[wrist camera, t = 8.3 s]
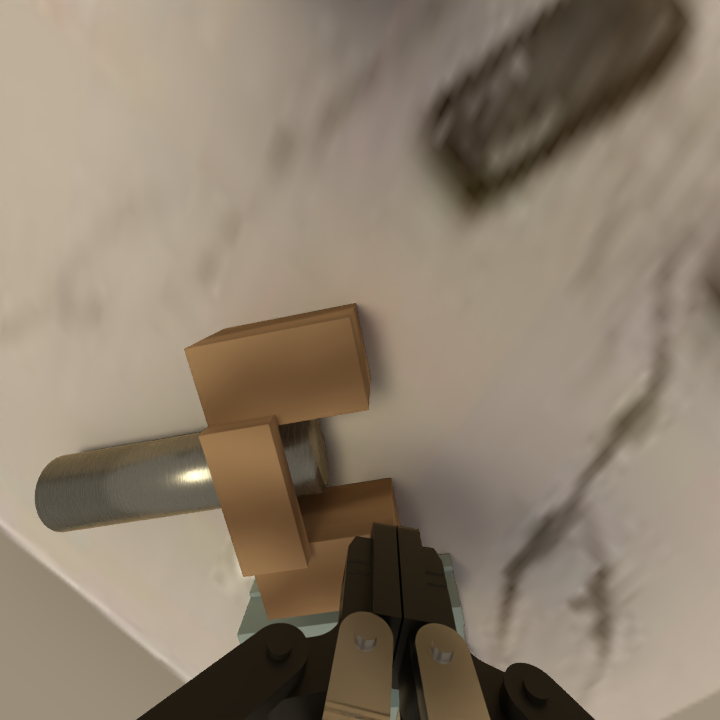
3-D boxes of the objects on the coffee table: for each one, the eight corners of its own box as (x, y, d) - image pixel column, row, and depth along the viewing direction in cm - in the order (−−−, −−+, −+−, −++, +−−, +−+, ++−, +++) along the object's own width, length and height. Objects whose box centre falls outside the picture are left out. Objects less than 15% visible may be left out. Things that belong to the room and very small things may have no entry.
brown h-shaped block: (223, 328, 22) (172, 354, 16) (355, 303, 21) (347, 321, 16) (287, 554, 25) (263, 638, 20) (402, 538, 24) (410, 619, 19)
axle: (102, 506, 25) (49, 548, 21) (82, 444, 24) (24, 475, 20) (331, 471, 24) (320, 508, 20) (316, 403, 23) (302, 429, 19)
